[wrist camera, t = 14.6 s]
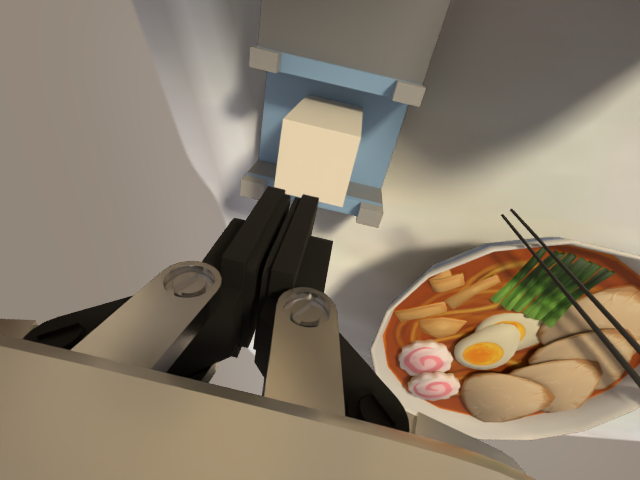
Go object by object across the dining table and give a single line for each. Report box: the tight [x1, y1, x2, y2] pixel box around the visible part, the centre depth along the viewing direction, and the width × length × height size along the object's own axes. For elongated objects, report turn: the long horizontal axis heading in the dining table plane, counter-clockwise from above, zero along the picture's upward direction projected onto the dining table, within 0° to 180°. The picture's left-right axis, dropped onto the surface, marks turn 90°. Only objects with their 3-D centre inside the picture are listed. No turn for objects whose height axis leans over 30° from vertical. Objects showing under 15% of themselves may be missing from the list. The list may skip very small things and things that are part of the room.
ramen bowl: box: [370, 209, 640, 440], centre depth 29 cm, size 25×23×8 cm
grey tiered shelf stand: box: [240, 0, 451, 228], centre depth 19 cm, size 24×10×6 cm, turn 169°
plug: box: [274, 95, 363, 207], centre depth 21 cm, size 4×4×8 cm
